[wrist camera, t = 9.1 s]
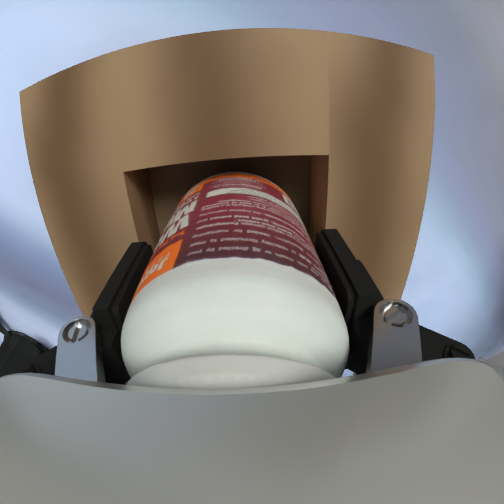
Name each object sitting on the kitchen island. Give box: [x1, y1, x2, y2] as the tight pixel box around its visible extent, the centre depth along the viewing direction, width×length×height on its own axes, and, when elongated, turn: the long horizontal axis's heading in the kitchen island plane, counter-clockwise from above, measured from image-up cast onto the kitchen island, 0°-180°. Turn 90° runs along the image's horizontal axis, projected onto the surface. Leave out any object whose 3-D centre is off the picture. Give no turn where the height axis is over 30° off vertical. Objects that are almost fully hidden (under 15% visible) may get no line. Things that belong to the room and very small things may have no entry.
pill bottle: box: [121, 172, 349, 389], centre depth 9 cm, size 6×6×11 cm
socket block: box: [20, 28, 435, 317], centre depth 14 cm, size 18×18×4 cm
